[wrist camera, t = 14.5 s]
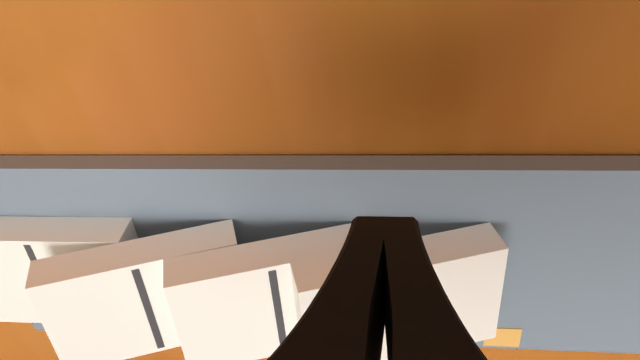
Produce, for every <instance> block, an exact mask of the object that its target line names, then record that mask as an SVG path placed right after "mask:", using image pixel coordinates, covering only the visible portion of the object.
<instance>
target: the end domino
mask: <svg viewBox="0 0 640 360" xmlns="http://www.w3.org/2000/svg"><path fill="white" fill-rule="evenodd" d="M133 239H138V236H137V232H136V229H135V226H134V223H133V220H132V218H125V217H29V216H0V322H29V323H41V321H40V319H39V317H38V315H37V313H36V311H35V309H34V307H33V305H32V303H31V301H30V299H29V297H28V295H27V293H26V291H25V285H26V281H27V276H28V271H29V266H30V261H33V260H38V259H42V258H47V257H52V256H57V255H62V254H66V253H71V252H76V251H81V250H85V249H90V248H95V247H100V246H105V245H109V244H114V243H119V242H124V241H129V240H133Z"/></svg>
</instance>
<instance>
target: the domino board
mask: <svg viewBox="0 0 640 360" xmlns="http://www.w3.org/2000/svg"><path fill="white" fill-rule="evenodd" d="M0 216H29V217H125V218H132V220H133V223H134V226H135V229H136V232H137V236H138V238H143V237H148V236H153V235H157V234H162V233H167V232H172V231H177V230H181V229H186V228H191V227H196V226H200V225H205V224H210V223H215V222H220V221H224V220H229V219H232V222H233V227H234V231H235V236H236V241H237V245H240V244H245V243H250V242H255V241H261V240H266V239H271V238H276V237H281V236H287V235H292V234H297V233H302V232H307V231H313V230H318V229H323V228H328V227H333V226H339V225H344V224H349V223H352V220H353V219H354V218H356V217H357V216H387V217H414V218H415V219H416V220H417V221H418V223H419V229H420V233H421V236H425V235H430V234H434V233H439V232H444V231H449V230H454V229H459V228H464V227H469V226H474V225H478V224H483V223H488V222H490V223H491V225H492V226H493V227H494V229H495V230H496V232H497V233H498V234H499V236H500V237H501V238H502V240H503V241H504V243H505V244H506V245H507V247H508V248H509V250H508V257H507V264H506V270H505V277H504V284H503V290H502V297H501V304H500V310H499V317H498V324H497V330H496V337H495V338H492V339H487V340H483V341H479V342H475V343H476V344H477V346H478V347H482V348H507V349H533V350H558V351H584V352H610V353H635V354H640V155H0ZM32 324H33V326H34V328H35V330H45V329H44V327H43V325H42V323H32Z"/></svg>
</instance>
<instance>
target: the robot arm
mask: <svg viewBox="0 0 640 360" xmlns="http://www.w3.org/2000/svg"><path fill="white" fill-rule="evenodd" d="M384 329H385V333H386V345H387V358H388V360H487V358H486V357H485V356H484V354H483V353H482V351H481V350H480V348H479V347H478V346H477V344H476V343H475V341H474V340H473V338H472V337H471V335H470V334H469V332H468V331H467V329H466V328H465V326H464V324H463V323H462V321H461V319H460V318H459V316H458V314H457V313H456V311H455V309H454V307H453V306H452V304H451V302H450V300H449V298H448V296H447V295H446V293H445V291H444V289H443V287H442V285H441V283H440V281H439V278H438V276H437V274H436V272H435V270H434V268H433V266H432V263H431V261H430V259H429V256H428V253H427V251H426V248H425V245H424V243H423V240H422V236H421V233H420V229H419V223H418V221H417V220H416V219H415V218H414V217H387V216H357V217H356V218H354V219H353V220H352V223H351V227H350V229H349V232H348V235H347V237H346V240H345V242H344V244H343V247H342V249H341V251H340V253H339V255H338V257H337V259H336V261H335V263H334V265H333V266H332V268H331V270H330V272H329V274H328V276H327V278H326V279H325V281H324V283H323V285H322V286H321V288H320V289H319V291H318V292H317V294H316V296H315V297H314V299H313V300H312V302H311V303H310V305H309V307H308V308H307V310H306V311H305V313H304V314H303V315H302V317H301V318H300V320H299V321H298V322H297V324H296V325H295V326H294V328H293V329H292V330H291V332H290V333H289V334H288V335H287V337H286V338H285V339H284V341H283V342H282V343H281V344H280V345H279V347H278V348H277V349H276V350H275V351H274V352H273V354H272V355H271V356H270V357H269V358H268V359H267V360H381V353H382V345H383V337H384Z"/></svg>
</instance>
